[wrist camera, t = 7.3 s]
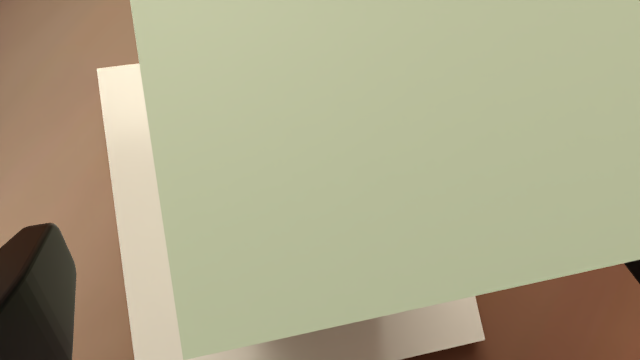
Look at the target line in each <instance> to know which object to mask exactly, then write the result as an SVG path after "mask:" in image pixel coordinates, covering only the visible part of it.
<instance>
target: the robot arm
mask: <svg viewBox="0 0 640 360" xmlns="http://www.w3.org/2000/svg"><path fill="white" fill-rule="evenodd" d="M624 264H625V265H626V267H627V268H628V269H629V271H630V272H631V273H632V274H633V276H634V277H635V278H636V280H637V281H638V282H639V284H640V260H636V261H631V262H626V263H624ZM75 291H76V268H75V264H74V261H73V258H72V256H71V254H70V251H69V249H68V247H67V245H66V243H65V240H64V238H63V236H62V234H61V231H60V230H59V228H58V227H57V226H56V225H55V224H53V223H45V224H39V225H33V226H28V227H25V228H23V229H22V230H21V231H19V232H18V233H17V234H16V235H15V236H14V237H12V238H11V239H10V240H9V241H8V242H7V243H6V244H4V245H3V246H2V247H1V248H0V360H72V351H73V331H74V311H75Z"/></svg>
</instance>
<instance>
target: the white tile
mask: <svg viewBox="0 0 640 360" xmlns="http://www.w3.org/2000/svg"><path fill="white" fill-rule="evenodd" d="M97 74H98V82H99V89H100V97H101V105H102V112H103V120H104V128H105V135H106V143H107V151H108V158H109V166H110V174H111V181H112V189H113V197H114V205H115V212H116V220H117V228H118V235H119V243H120V251H121V258H122V266H123V274H124V281H125V289H126V297H127V305H128V312H129V320H130V328H131V335H132V343H133V351H134V358H135V360H183V355H182V348H181V341H180V335H179V328H178V321H177V314H176V308H175V301H174V294H173V287H172V280H171V274H170V267H169V260H168V253H167V247H166V240H165V233H164V226H163V220H162V213H161V206H160V199H159V193H158V186H157V179H156V172H155V166H154V159H153V152H152V145H151V139H150V132H149V125H148V118H147V111H146V105H145V98H144V91H143V84H142V78H141V71H140V64H132V65H123V66H115V67H107V68H98V69H97ZM483 340H485V337H484V333H483V329H482V324H481V320H480V315H479V311H478V307H477V302H476V298H475V296H472V297H468V298H463V299H459V300H454V301H450V302H445V303H441V304H436V305H432V306H427V307H423V308H418V309H414V310H409V311H404V312H400V313H395V314H391V315H386V316H382V317H377V318H373V319H368V320H364V321H359V322H355V323H350V324H346V325H341V326H336V327H332V328H327V329H323V330H318V331H314V332H309V333H305V334H300V335H296V336H291V337H287V338H282V339H278V340H273V341H269V342H264V343H259V344H255V345H250V346H246V347H241V348H237V349H232V350H228V351H223V352H219V353H214V354H210V355H205V356H201V357H196V358H191V359H187V360H401V359H405V358H409V357H414V356H418V355H422V354H427V353H431V352H435V351H440V350H444V349H448V348H452V347H457V346H461V345H465V344H470V343H474V342H478V341H483Z"/></svg>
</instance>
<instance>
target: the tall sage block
mask: <svg viewBox="0 0 640 360" xmlns="http://www.w3.org/2000/svg"><path fill="white" fill-rule="evenodd" d="M130 3H131V10H132V17H133V24H134V30H135V37H136V44H137V51H138V57H139V64H140V71H141V78H142V84H143V91H144V98H145V105H146V111H147V118H148V125H149V132H150V139H151V145H152V152H153V159H154V166H155V172H156V179H157V186H158V193H159V199H160V206H161V213H162V220H163V226H164V233H165V240H166V247H167V253H168V260H169V267H170V274H171V280H172V287H173V294H174V301H175V308H176V314H177V321H178V328H179V335H180V341H181V348H182V355H183V360H187V359H191V358H196V357H201V356H205V355H210V354H214V353H219V352H223V351H228V350H232V349H237V348H241V347H246V346H250V345H255V344H259V343H264V342H269V341H273V340H278V339H282V338H287V337H291V336H296V335H300V334H305V333H309V332H314V331H318V330H323V329H327V328H332V327H336V326H341V325H346V324H350V323H355V322H359V321H364V320H368V319H373V318H377V317H382V316H386V315H391V314H395V313H400V312H404V311H409V310H414V309H418V308H423V307H427V306H432V305H436V304H441V303H445V302H450V301H454V300H459V299H463V298H468V297H472V296H477V295H481V294H486V293H491V292H495V291H500V290H504V289H509V288H513V287H518V286H522V285H527V284H531V283H536V282H540V281H545V280H549V279H554V278H559V277H563V276H568V275H572V274H577V273H581V272H586V271H590V270H595V269H599V268H604V267H608V266H613V265H617V264H622V263H626V262H631V261H636V260H640V1H639V0H130Z"/></svg>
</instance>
